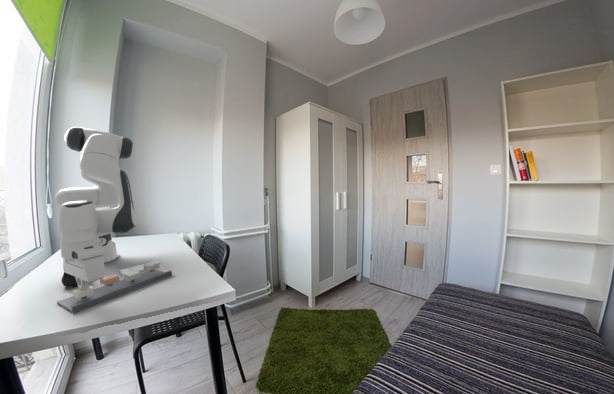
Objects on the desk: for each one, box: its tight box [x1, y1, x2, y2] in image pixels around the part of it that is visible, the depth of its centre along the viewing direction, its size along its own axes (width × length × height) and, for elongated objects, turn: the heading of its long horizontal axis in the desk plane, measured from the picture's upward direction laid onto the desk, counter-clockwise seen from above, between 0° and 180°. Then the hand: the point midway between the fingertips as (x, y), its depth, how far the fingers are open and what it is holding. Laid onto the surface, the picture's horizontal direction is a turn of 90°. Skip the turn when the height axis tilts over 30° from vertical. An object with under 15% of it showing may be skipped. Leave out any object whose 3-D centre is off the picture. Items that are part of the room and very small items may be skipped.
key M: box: [144, 261, 160, 272], centre depth 90 cm, size 4×4×3 cm
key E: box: [99, 273, 120, 286], centre depth 77 cm, size 4×4×3 cm
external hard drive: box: [118, 261, 152, 277], centre depth 98 cm, size 2×8×12 cm
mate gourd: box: [61, 271, 78, 288], centre depth 83 cm, size 7×8×10 cm
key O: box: [72, 284, 95, 299], centre depth 71 cm, size 4×4×3 cm
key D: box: [123, 271, 141, 282], centre depth 83 cm, size 4×4×3 cm
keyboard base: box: [56, 269, 173, 315], centre depth 80 cm, size 13×30×2 cm, turn 155°
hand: (83, 288), depth 71 cm, fingers closed, pressing on key O
